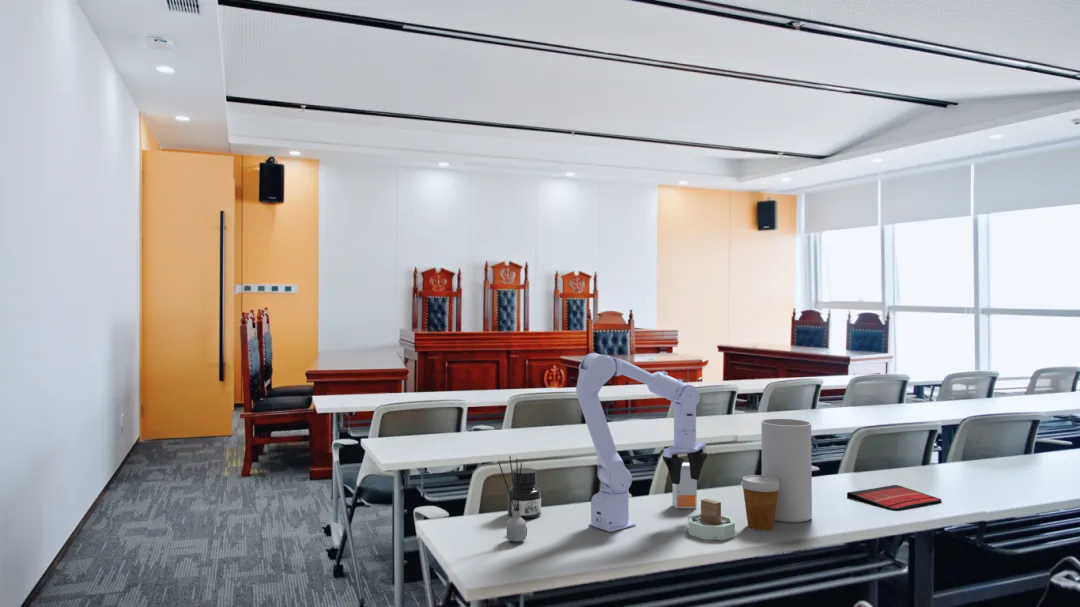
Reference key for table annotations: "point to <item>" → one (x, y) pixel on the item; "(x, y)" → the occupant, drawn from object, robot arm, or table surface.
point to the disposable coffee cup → (760, 500)
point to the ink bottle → (525, 494)
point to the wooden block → (711, 511)
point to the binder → (893, 497)
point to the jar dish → (711, 528)
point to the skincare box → (685, 490)
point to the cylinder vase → (789, 466)
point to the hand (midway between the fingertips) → (685, 481)
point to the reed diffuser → (515, 513)
